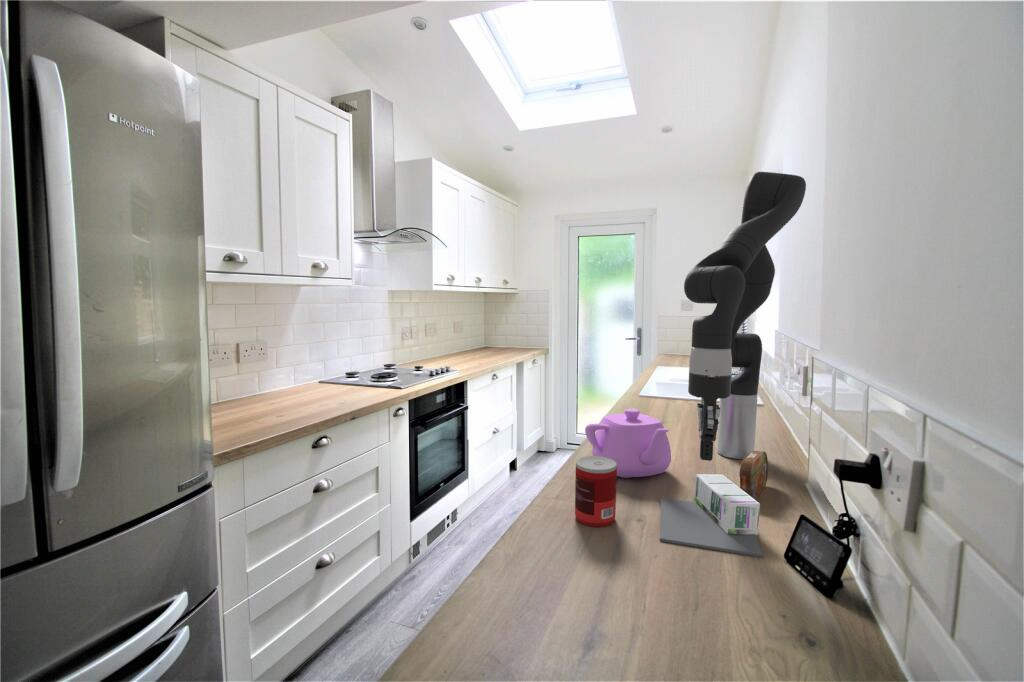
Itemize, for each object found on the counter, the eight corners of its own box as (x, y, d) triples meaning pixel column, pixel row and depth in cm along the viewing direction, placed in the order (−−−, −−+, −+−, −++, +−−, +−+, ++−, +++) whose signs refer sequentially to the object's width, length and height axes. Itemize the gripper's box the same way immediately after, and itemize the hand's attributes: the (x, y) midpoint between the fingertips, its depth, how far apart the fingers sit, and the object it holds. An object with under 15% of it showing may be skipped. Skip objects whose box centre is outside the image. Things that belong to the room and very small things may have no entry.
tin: (751, 505, 97) (754, 465, 96) (735, 501, 99) (737, 462, 98) (768, 484, 108) (770, 448, 108) (753, 480, 111) (755, 445, 110)
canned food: (617, 512, 93) (619, 458, 92) (612, 531, 85) (614, 472, 85) (579, 506, 95) (580, 453, 95) (570, 524, 88) (572, 466, 87)
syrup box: (695, 473, 97) (728, 503, 83) (723, 473, 97) (761, 504, 83) (693, 500, 98) (726, 535, 83) (721, 500, 98) (759, 535, 83)
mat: (661, 499, 99) (661, 497, 99) (745, 510, 94) (745, 508, 94) (659, 540, 82) (660, 538, 82) (762, 557, 77) (762, 554, 77)
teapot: (570, 463, 121) (571, 405, 120) (642, 455, 127) (643, 400, 126) (615, 498, 100) (617, 428, 98) (698, 487, 106) (701, 422, 104)
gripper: (687, 365, 98) (684, 447, 99) (690, 375, 85) (686, 468, 87) (727, 367, 95) (723, 451, 97) (736, 377, 83) (731, 473, 84)
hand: (705, 459), depth 92 cm, fingers closed
